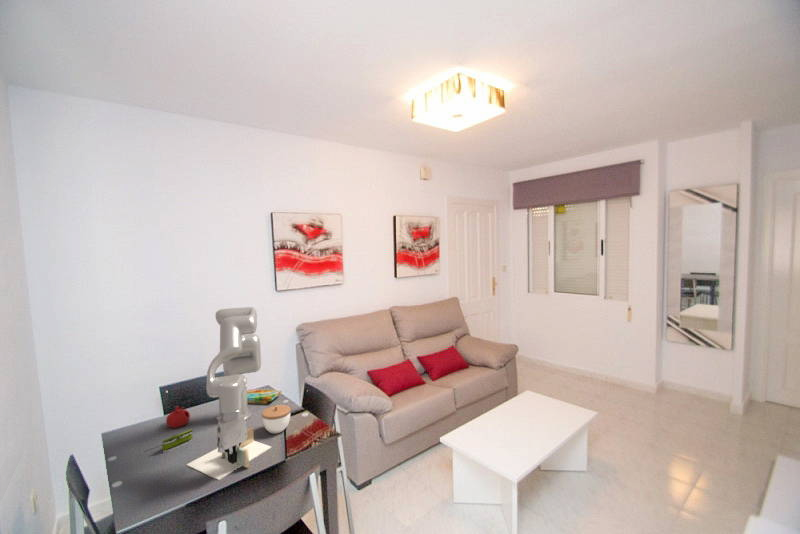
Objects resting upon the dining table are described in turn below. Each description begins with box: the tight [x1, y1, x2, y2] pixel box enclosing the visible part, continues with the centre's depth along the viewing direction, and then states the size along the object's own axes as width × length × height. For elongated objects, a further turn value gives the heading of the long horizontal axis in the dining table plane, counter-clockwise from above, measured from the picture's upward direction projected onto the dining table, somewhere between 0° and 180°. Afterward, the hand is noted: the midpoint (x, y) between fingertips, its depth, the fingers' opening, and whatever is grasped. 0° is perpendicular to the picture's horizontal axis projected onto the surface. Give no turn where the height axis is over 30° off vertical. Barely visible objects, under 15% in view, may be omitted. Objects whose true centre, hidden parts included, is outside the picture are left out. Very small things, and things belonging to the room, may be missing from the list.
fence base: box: [222, 427, 255, 458], centre depth 147 cm, size 2×14×8 cm, turn 152°
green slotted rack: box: [144, 428, 194, 453], centre depth 150 cm, size 7×19×10 cm
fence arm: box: [225, 447, 250, 468], centre depth 137 cm, size 2×13×6 cm, turn 60°
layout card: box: [186, 440, 272, 481], centre depth 143 cm, size 20×24×1 cm
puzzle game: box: [247, 388, 282, 405], centre depth 198 cm, size 12×5×20 cm
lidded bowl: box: [261, 404, 291, 435], centre depth 164 cm, size 13×13×11 cm
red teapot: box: [165, 405, 191, 429], centre depth 171 cm, size 10×10×9 cm
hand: (232, 461), depth 134 cm, fingers closed
